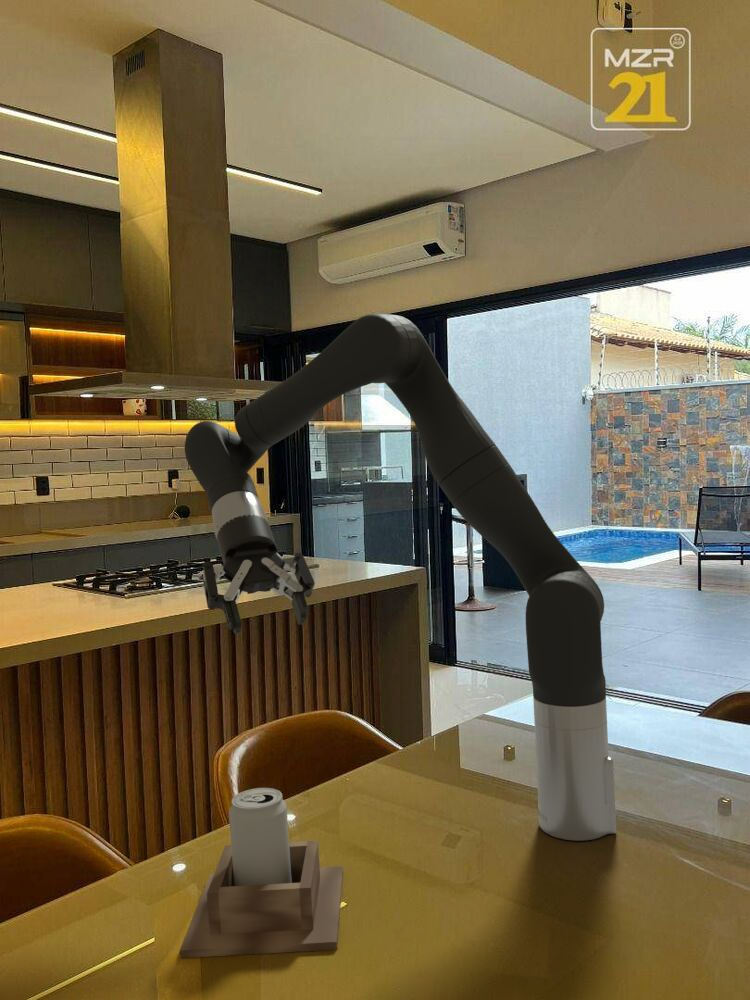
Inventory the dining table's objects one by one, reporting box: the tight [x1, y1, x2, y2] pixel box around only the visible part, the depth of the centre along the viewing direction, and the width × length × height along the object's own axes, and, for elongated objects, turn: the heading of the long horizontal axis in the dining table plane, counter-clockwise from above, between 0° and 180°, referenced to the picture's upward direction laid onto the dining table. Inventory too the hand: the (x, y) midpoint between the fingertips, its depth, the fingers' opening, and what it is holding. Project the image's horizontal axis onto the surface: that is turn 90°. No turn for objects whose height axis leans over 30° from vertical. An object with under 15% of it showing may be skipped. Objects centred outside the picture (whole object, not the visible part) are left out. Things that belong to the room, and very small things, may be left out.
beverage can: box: [228, 787, 292, 886], centre depth 97 cm, size 6×6×12 cm
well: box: [179, 840, 344, 959], centre depth 96 cm, size 16×16×5 cm
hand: (271, 625), depth 112 cm, fingers open, 8 cm apart
